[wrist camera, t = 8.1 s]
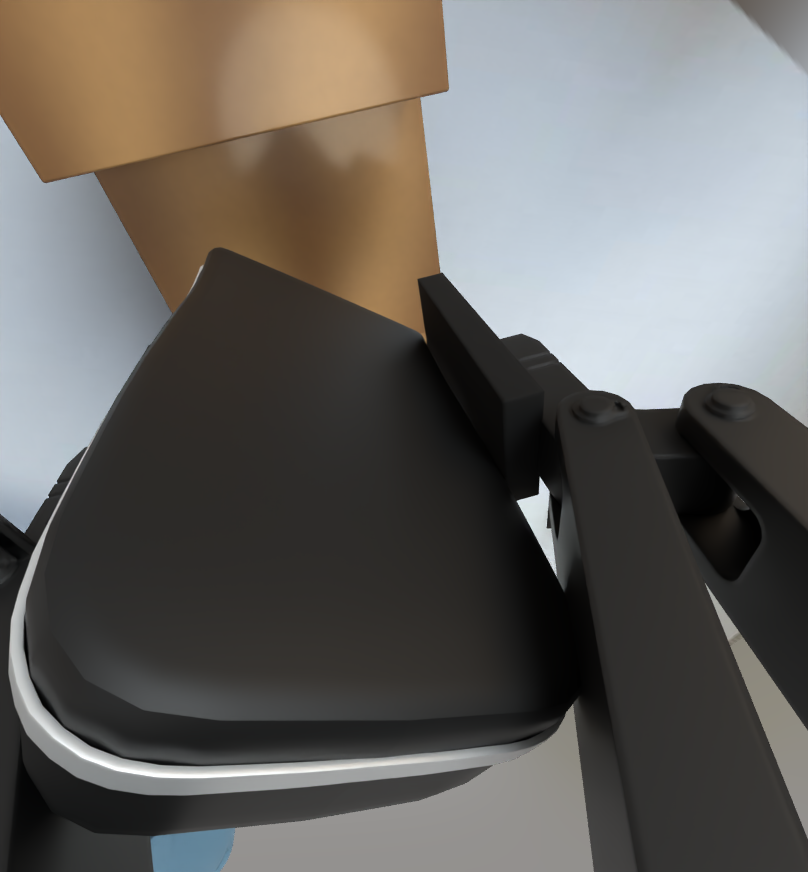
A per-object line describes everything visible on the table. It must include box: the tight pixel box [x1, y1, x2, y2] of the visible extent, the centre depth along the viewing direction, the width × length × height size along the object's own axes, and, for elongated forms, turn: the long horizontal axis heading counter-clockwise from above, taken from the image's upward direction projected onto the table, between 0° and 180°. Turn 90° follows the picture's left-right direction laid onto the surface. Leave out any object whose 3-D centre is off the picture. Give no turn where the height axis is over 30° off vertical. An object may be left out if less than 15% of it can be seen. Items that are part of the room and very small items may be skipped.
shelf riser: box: [0, 0, 449, 344], centre depth 21 cm, size 13×24×12 cm, turn 10°
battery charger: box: [8, 247, 581, 836], centre depth 9 cm, size 7×4×11 cm, turn 62°
